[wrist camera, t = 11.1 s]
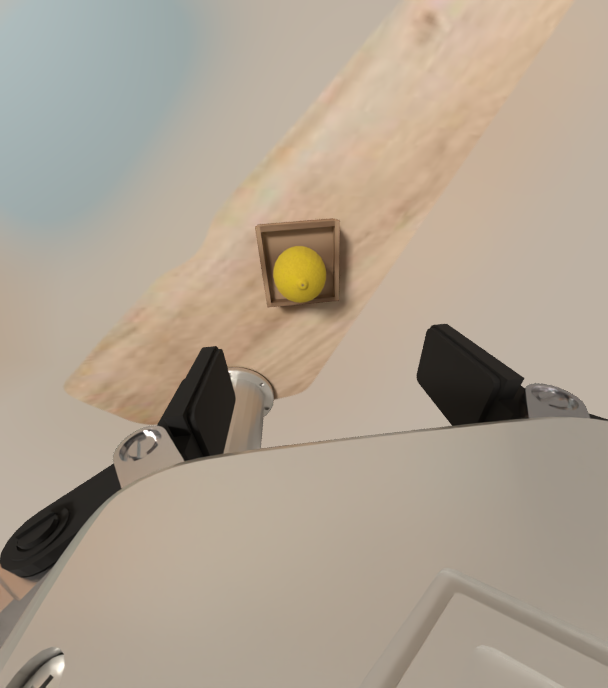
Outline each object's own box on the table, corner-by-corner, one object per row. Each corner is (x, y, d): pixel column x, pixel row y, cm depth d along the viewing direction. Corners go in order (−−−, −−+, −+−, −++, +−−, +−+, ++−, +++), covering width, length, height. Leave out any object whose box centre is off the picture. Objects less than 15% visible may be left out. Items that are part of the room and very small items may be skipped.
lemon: (329, 263, 28) (345, 281, 21) (299, 297, 30) (305, 324, 23) (294, 230, 26) (299, 238, 19) (264, 269, 28) (259, 289, 21)
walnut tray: (332, 290, 33) (338, 300, 30) (269, 296, 33) (267, 307, 29) (332, 218, 29) (339, 220, 25) (258, 224, 28) (255, 227, 25)
